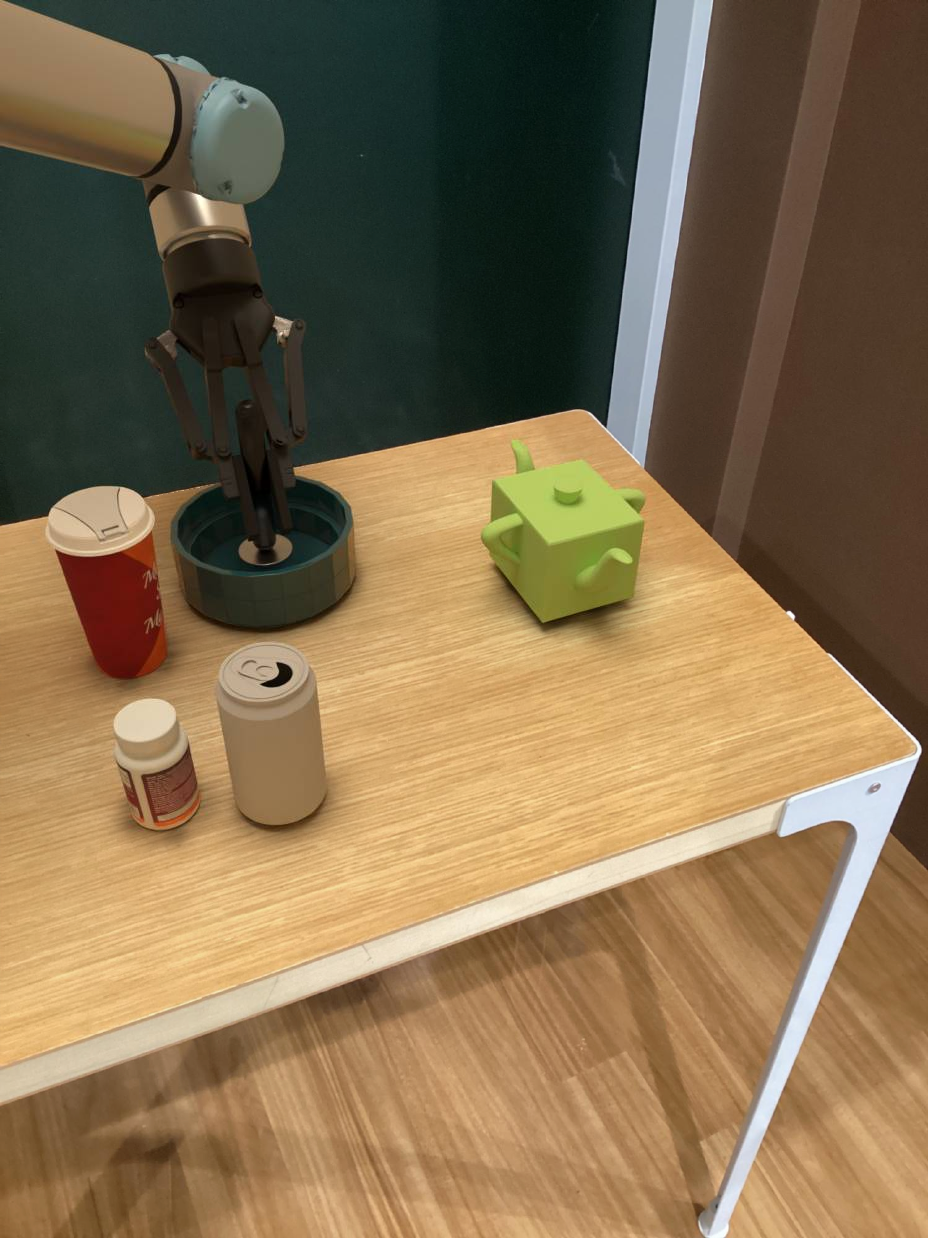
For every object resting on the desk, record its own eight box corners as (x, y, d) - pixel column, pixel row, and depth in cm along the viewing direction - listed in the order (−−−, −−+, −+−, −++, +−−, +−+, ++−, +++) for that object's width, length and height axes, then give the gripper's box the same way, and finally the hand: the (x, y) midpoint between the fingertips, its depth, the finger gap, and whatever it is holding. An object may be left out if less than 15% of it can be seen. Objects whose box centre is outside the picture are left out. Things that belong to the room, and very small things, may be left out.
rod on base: (241, 586, 90) (216, 417, 80) (240, 554, 94) (216, 388, 83) (296, 581, 91) (278, 413, 81) (293, 549, 94) (276, 384, 84)
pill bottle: (211, 784, 76) (193, 698, 70) (185, 837, 72) (165, 750, 67) (147, 774, 76) (125, 689, 71) (119, 826, 72) (94, 740, 67)
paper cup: (196, 665, 85) (168, 518, 76) (102, 701, 82) (61, 553, 73) (158, 613, 90) (128, 470, 81) (68, 645, 87) (26, 500, 78)
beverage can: (301, 843, 72) (286, 715, 64) (217, 816, 73) (192, 689, 66) (342, 776, 76) (332, 650, 69) (262, 753, 78) (244, 627, 70)
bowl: (178, 642, 87) (167, 584, 83) (183, 536, 99) (173, 480, 95) (364, 623, 89) (361, 566, 86) (347, 522, 101) (344, 467, 97)
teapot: (618, 655, 87) (633, 549, 80) (461, 623, 90) (462, 518, 83) (648, 550, 98) (663, 450, 91) (507, 525, 101) (512, 425, 94)
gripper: (293, 264, 93) (354, 527, 91) (115, 285, 88) (175, 560, 87) (303, 223, 85) (368, 507, 84) (109, 244, 81) (174, 543, 80)
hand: (270, 534), depth 86 cm, fingers closed on rod on base, 2 cm apart
